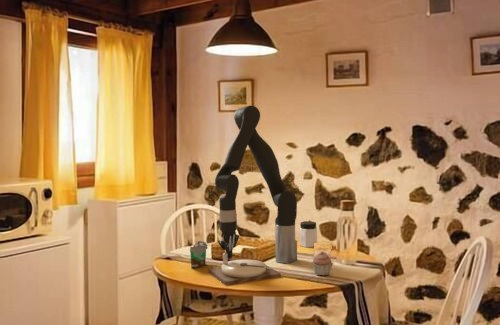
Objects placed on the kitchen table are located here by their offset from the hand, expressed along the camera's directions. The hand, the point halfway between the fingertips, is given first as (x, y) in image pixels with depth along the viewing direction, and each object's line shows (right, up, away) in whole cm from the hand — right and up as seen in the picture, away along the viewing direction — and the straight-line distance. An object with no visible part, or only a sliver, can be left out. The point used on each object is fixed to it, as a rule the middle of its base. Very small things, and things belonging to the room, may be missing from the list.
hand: (229, 258), depth 239 cm
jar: (+39, -1, +44) cm, 59 cm away
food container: (-13, -5, +9) cm, 17 cm away
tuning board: (+6, -6, -5) cm, 10 cm away
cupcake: (+40, -6, -6) cm, 41 cm away
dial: (+6, -4, -5) cm, 9 cm away
